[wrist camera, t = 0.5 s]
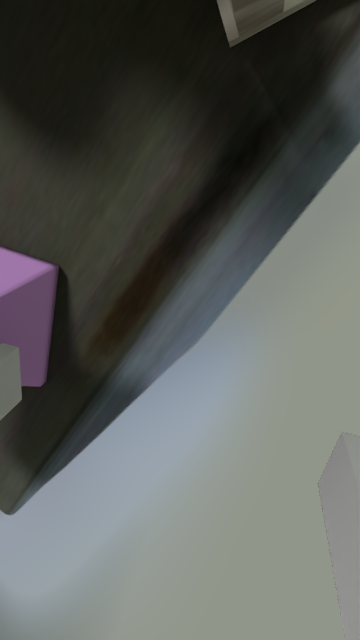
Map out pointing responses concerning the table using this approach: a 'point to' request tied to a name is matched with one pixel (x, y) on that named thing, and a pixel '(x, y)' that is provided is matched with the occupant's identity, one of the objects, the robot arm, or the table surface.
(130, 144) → the table surface
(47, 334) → the purple pedestal trophy
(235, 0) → the wooden beam cradle
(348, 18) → the table surface
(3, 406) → the robot arm
